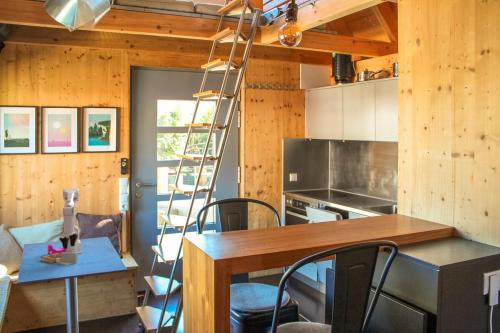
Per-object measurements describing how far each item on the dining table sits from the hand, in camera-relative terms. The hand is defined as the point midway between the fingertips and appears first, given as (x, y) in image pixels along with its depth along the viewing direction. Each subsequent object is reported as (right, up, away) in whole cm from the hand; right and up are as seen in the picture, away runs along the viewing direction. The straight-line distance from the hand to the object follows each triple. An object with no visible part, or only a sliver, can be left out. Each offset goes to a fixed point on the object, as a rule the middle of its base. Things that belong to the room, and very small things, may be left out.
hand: (69, 247), depth 278 cm
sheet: (0, -9, 0) cm, 9 cm away
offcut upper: (-8, -7, +10) cm, 14 cm away
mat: (0, -10, 0) cm, 10 cm away
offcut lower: (-8, -9, +10) cm, 16 cm away
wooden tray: (-10, -10, +7) cm, 16 cm away
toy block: (-17, -10, +25) cm, 32 cm away
